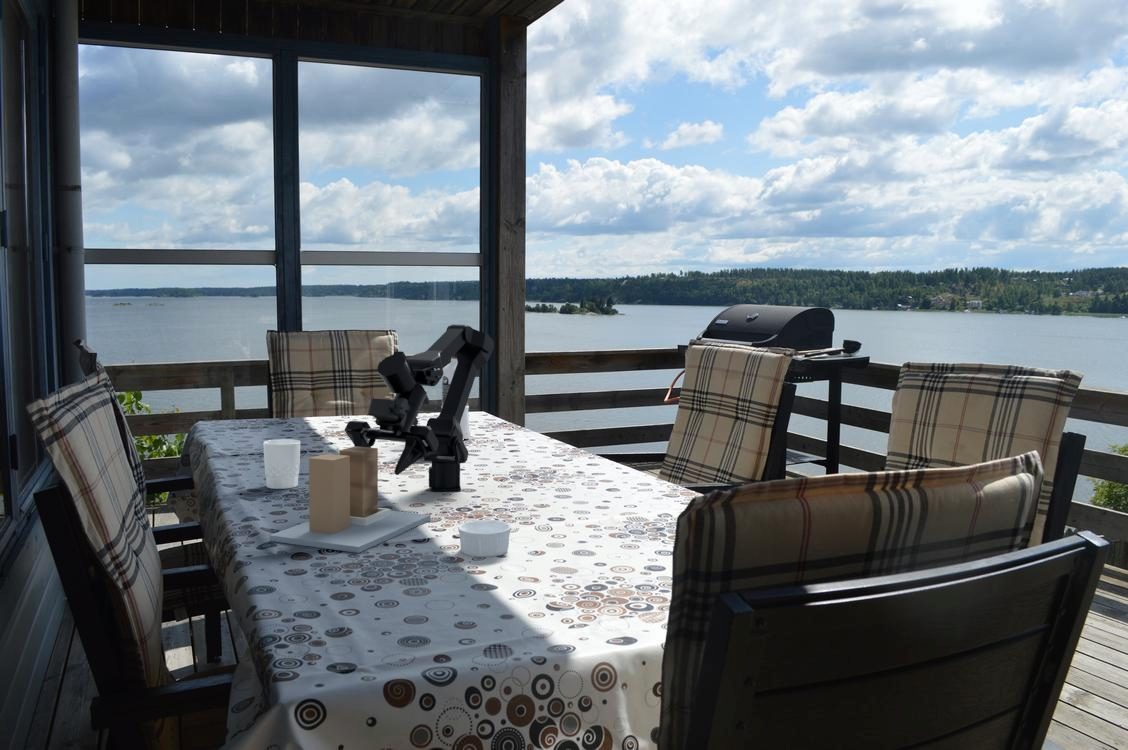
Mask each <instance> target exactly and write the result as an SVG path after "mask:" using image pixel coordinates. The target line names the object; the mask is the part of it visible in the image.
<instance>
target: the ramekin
mask: <svg viewBox="0 0 1128 750" xmlns="http://www.w3.org/2000/svg"><path fill="white" fill-rule="evenodd" d="M457 528H458V532H459V543H460V544H459V546H460V551H461V552H462V554H464V555H466V556H470V557H473V558H474V557H475V558H476V557H477V558H493V557H498V556H502V555H505V554H506V553H507V552H508V550H509V546H510V545H509V544H510V533H511V530H512V526H511V524H510V523H508V522H505V521H502V520H497V519H496V520H494V519H477V520H476V519H475V520H471V521H466V522H462V523H461V524H459V525H458V527H457Z"/></svg>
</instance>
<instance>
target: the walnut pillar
mask: <svg viewBox="0 0 1128 750" xmlns="http://www.w3.org/2000/svg"><path fill="white" fill-rule="evenodd" d="M378 450H379V448H378V447H371V448H369V447H357V446H354V445H353V446H351V447H347V448H344V449H340V450H339V454H338V455H346V456H350V516H353V517H362V518H365V517H368V516H370V515H373V514H375V513H378V508H379V496H378V495H379V493H378V492H379V486H378V485H379V484H378V483H379V480H378V479H379V478H378V477H379V476H378V474H379V471H378V469H379V468H378V467H379V466H378V465H379V458H378V457H379V455H378V454H379V453H378V452H379V451H378Z"/></svg>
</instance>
